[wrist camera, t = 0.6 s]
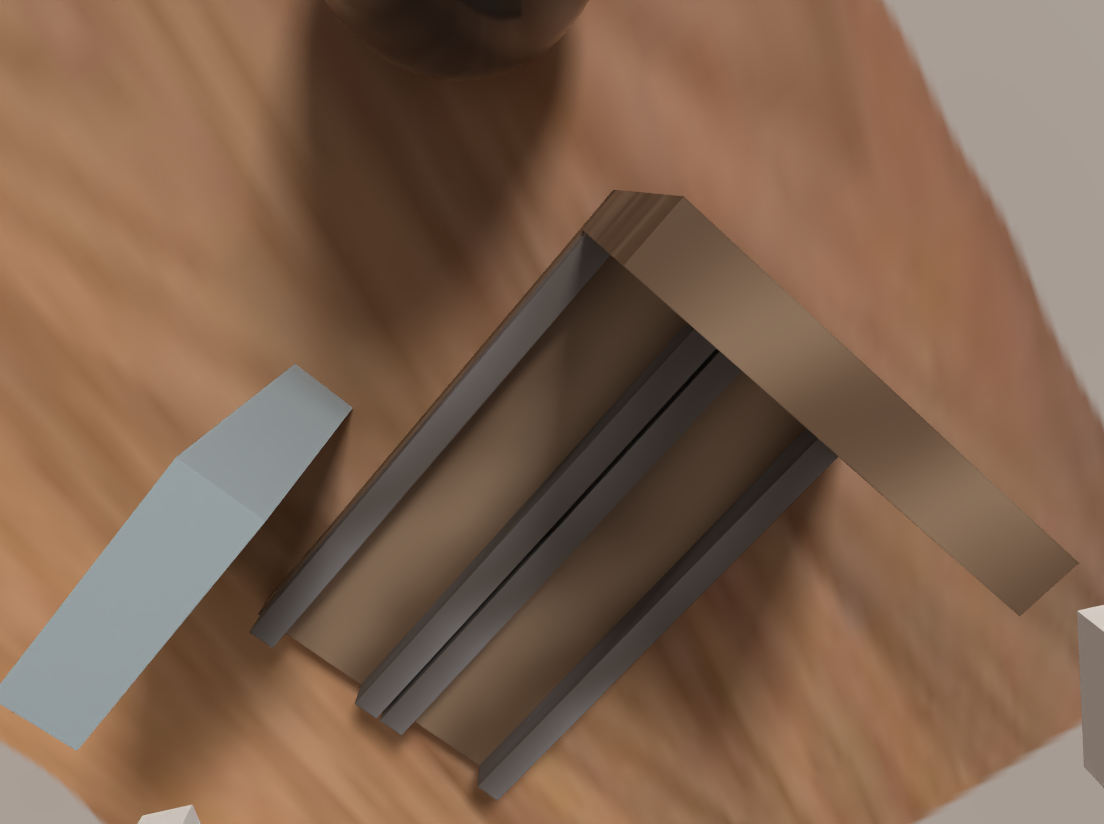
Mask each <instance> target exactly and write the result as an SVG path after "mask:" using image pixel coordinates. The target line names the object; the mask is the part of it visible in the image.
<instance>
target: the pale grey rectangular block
mask: <svg viewBox="0 0 1104 824" xmlns="http://www.w3.org/2000/svg"><path fill="white" fill-rule="evenodd" d="M351 410H352V407H351V406H350V405H348V404H347V403H346V402H345V401H343V400H342V399H341V398H339V397H338V396H337V395H335V394H334V393H333V392H331V391H330V390H329V389H328V388H326V387H325V386H324V385H322V384H321V383H320V382H318V381H317V380H316V379H315V378H313V377H312V376H311V375H309V374H308V373H307V372H305V371H304V370H303V369H302V368H300V367H299V366H298V365H296V364H294V365H293V366H292V367H290V368H289V369H288V370H287V371H285V372H284V373H283V374H281V375H280V376H279V377H278V378H276V379H275V380H274V381H273V382H271V383H270V384H269V385H267V386H266V387H265V388H264V389H262V390H261V391H260V392H259V393H257V394H256V395H255V396H253V397H252V398H251V399H250V400H248V401H247V402H246V403H245V404H243V405H242V406H241V407H239V408H238V409H237V410H236V411H234V412H233V413H232V414H231V415H229V416H228V417H227V418H225V419H224V420H223V421H222V422H220V423H219V424H218V425H217V426H215V427H214V428H213V429H211V430H210V431H209V432H208V433H206V434H205V435H204V436H203V437H201V438H200V439H199V440H197V441H196V442H195V443H194V444H192V445H191V446H190V447H189V448H187V449H186V450H185V451H183V452H182V453H181V454H180V455H178V456H177V457H176V458H175V459H174V461H173V462H172V463H171V464H170V466H169V467H168V468H167V470H166V471H165V472H164V473H163V475H162V476H161V477H160V479H159V480H158V481H157V483H156V484H155V485H154V486H153V488H152V489H151V490H150V492H149V493H148V494H147V495H146V497H145V498H144V499H143V501H142V502H141V503H140V504H139V506H138V507H137V508H136V510H135V511H134V512H133V513H132V515H131V516H130V517H129V519H128V520H127V521H126V523H125V524H124V525H123V526H122V528H121V529H120V530H119V532H118V533H117V534H116V535H115V537H114V538H113V539H112V541H111V542H110V543H109V544H108V546H107V547H106V548H105V550H104V551H103V552H102V553H101V555H100V556H99V557H98V559H97V560H96V561H95V562H94V564H93V565H92V566H91V568H90V569H89V570H88V572H87V573H86V574H85V575H84V577H83V578H82V579H81V581H80V582H79V583H78V584H77V586H76V587H75V588H74V590H73V591H72V592H71V593H70V595H69V596H68V597H67V599H66V600H65V601H64V602H63V604H62V605H61V606H60V608H59V609H58V610H57V611H56V613H55V614H54V615H53V617H52V618H51V619H50V621H49V622H48V623H47V624H46V626H45V627H44V628H43V630H42V631H41V632H40V633H39V635H38V636H37V637H36V639H35V640H34V641H33V642H32V644H31V645H30V646H29V648H28V649H27V650H26V651H25V653H24V654H23V655H22V657H21V658H20V659H19V661H18V662H17V663H16V664H15V666H14V667H13V668H12V670H11V671H10V672H9V673H8V675H7V676H6V677H5V679H4V680H3V681H2V682H1V684H0V704H1V705H3V706H4V707H6V708H7V709H9V710H11V711H12V712H14V713H16V714H17V715H19V716H21V717H22V718H24V719H25V720H27V721H29V722H30V723H32V724H34V725H35V726H37V727H39V728H40V729H42V730H44V731H45V732H47V733H48V734H50V735H52V736H53V737H55V738H57V739H58V740H60V741H62V742H63V743H65V744H66V745H68V746H70V747H71V748H73V749H75V750H76V751H77V750H78V749H79V748H80V747H81V745H82V744H83V743H84V742H85V741H86V739H87V738H88V737H89V736H90V734H91V733H92V732H93V731H94V730H95V728H96V727H97V726H98V725H99V723H100V722H101V721H102V720H103V719H104V717H105V716H106V715H107V714H108V713H109V711H110V710H111V709H112V708H113V706H114V705H115V704H116V703H117V702H118V700H119V699H120V698H121V697H122V695H123V694H124V693H125V692H126V691H127V689H128V688H129V687H130V686H131V685H132V683H133V682H134V681H135V680H136V678H137V677H138V676H139V675H140V674H141V672H142V671H143V670H144V669H145V667H146V666H147V665H148V664H149V663H150V661H151V660H152V659H153V658H154V657H155V655H156V654H157V653H158V652H159V650H160V649H161V648H162V647H163V646H164V644H165V643H166V642H167V641H168V639H169V638H170V637H171V636H172V635H173V633H174V632H175V631H176V630H177V629H178V627H179V626H180V625H181V624H182V622H183V621H184V620H185V619H186V618H187V616H188V615H189V614H190V613H191V611H192V610H193V609H194V608H195V607H196V605H197V604H198V603H199V602H200V601H201V599H202V598H203V597H204V596H205V594H206V593H207V592H208V591H209V590H210V588H211V587H212V586H213V585H214V584H215V582H216V581H217V580H218V579H219V577H220V576H221V575H222V574H223V573H224V571H225V570H226V569H227V568H228V566H229V565H230V564H231V563H232V562H233V560H234V559H235V558H236V557H237V556H238V554H239V553H240V552H241V551H242V549H243V548H244V547H245V546H246V545H247V543H248V542H249V541H250V540H251V538H252V537H253V536H254V535H255V534H256V532H257V531H258V530H259V529H260V528H261V526H262V525H263V524H264V523H265V521H266V520H267V519H268V518H269V516H270V515H271V514H272V512H273V511H274V510H275V508H276V507H277V506H278V505H279V503H280V502H281V501H282V499H283V498H284V497H285V495H286V494H287V493H288V492H289V490H290V489H291V488H292V486H293V485H294V484H295V482H296V481H297V480H298V479H299V477H300V476H301V475H302V473H303V472H304V471H305V469H306V468H307V467H308V466H309V464H310V463H311V462H312V460H313V459H314V458H315V456H316V455H317V454H318V453H319V451H320V450H321V449H322V447H323V446H324V445H325V443H326V442H327V441H328V440H329V438H330V437H331V436H332V434H333V433H334V432H335V430H336V429H337V428H338V427H339V425H340V424H341V423H342V421H343V420H344V419H345V417H346V416H347V415H348V414H349V412H350V411H351Z"/></svg>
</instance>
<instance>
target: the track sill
mask: <svg viewBox="0 0 1104 824" xmlns="http://www.w3.org/2000/svg"><path fill="white" fill-rule="evenodd" d="M837 457H840V458H841V459H842V460H843V461H844V462H845V463H846V464H847V465H849V466H850V467H851V468H852V469H853V470H854V471H855V472H857V473H858V474H859V475H860V476H861V477H862V478H863V479H864V480H866V481H867V482H868V483H869V484H870V485H871V486H872V487H874V488H875V489H876V490H877V491H878V492H879V493H880V494H881V495H883V496H884V497H885V498H886V499H887V500H888V501H889V502H891V503H892V504H893V505H894V506H895V507H896V508H897V509H898V510H900V511H901V512H902V513H903V514H904V515H905V516H906V517H908V518H909V519H910V520H911V521H912V522H913V523H914V524H915V525H917V526H918V527H919V528H920V529H921V530H922V531H923V532H925V533H926V534H927V535H928V536H929V537H930V538H931V539H933V540H934V541H935V542H936V543H937V544H938V545H939V546H940V547H942V548H943V549H944V550H945V551H946V552H947V553H948V554H950V555H951V556H952V557H953V558H954V559H955V560H956V561H957V562H959V563H960V564H961V565H962V566H963V567H964V568H965V569H967V570H968V571H969V572H970V573H971V574H972V575H973V576H974V577H976V578H977V579H978V580H979V581H980V582H981V583H982V584H984V585H985V586H986V587H987V588H988V589H989V590H990V591H991V592H993V593H994V594H995V595H996V596H997V597H998V598H999V599H1001V600H1002V601H1003V602H1004V603H1005V604H1006V605H1007V606H1008V607H1010V608H1011V609H1012V610H1013V611H1014V612H1015V613H1016V614H1018V615H1019V616H1021V615H1022V614H1023V613H1024V612H1025V611H1026V610H1027V609H1029V608H1030V607H1031V606H1032V605H1033V604H1034V603H1035V602H1036V601H1037V600H1039V599H1040V598H1041V597H1042V596H1043V595H1044V594H1045V593H1046V592H1047V591H1048V590H1050V589H1051V588H1052V587H1053V586H1054V585H1055V584H1056V583H1057V582H1058V581H1060V580H1061V579H1062V578H1063V577H1064V576H1065V575H1066V574H1067V573H1068V572H1070V571H1071V570H1072V569H1073V568H1074V567H1075V566H1076V565H1077V564H1078V562H1077V561H1076V560H1075V559H1074V558H1073V557H1072V556H1071V555H1070V554H1069V553H1068V552H1067V551H1065V550H1064V549H1063V548H1062V547H1061V546H1060V545H1059V544H1058V543H1057V542H1056V541H1055V540H1054V539H1053V538H1051V537H1050V536H1049V535H1048V534H1047V533H1046V532H1045V531H1044V530H1043V529H1042V528H1041V527H1040V526H1038V525H1037V524H1036V523H1035V522H1034V521H1033V520H1032V519H1031V518H1030V517H1029V516H1028V515H1027V514H1026V513H1024V512H1023V511H1022V510H1021V509H1020V508H1019V507H1018V506H1017V505H1016V504H1015V503H1014V502H1013V501H1012V500H1010V499H1009V498H1008V497H1007V496H1006V495H1005V494H1004V493H1003V492H1002V491H1001V490H1000V489H999V488H998V487H996V486H995V485H994V484H993V483H992V482H991V481H990V480H989V479H988V478H987V477H986V476H985V475H983V474H982V473H981V472H980V471H979V470H978V469H977V468H976V467H975V466H974V465H973V464H972V463H971V462H969V461H968V460H967V459H966V458H965V457H964V456H963V455H962V454H961V453H960V452H959V451H958V450H957V449H955V448H954V447H953V446H952V445H951V444H950V443H949V442H948V441H947V440H946V439H945V438H944V437H943V436H941V435H940V434H939V433H938V432H937V431H936V430H935V429H934V428H933V427H932V426H931V425H930V424H928V423H927V422H926V421H925V420H924V419H923V418H922V417H921V416H920V415H919V414H918V413H917V412H916V411H914V410H913V409H912V408H911V407H910V406H909V405H908V404H907V403H906V402H905V401H904V400H903V399H902V398H900V397H899V396H898V395H897V394H896V393H895V392H894V391H893V390H892V389H891V388H890V387H889V386H887V385H886V384H885V383H884V382H883V381H882V380H881V379H880V378H879V377H878V376H877V375H876V374H875V373H873V372H872V371H871V370H870V369H869V368H868V367H867V366H866V365H865V364H864V363H863V362H862V361H861V360H859V359H858V358H857V357H856V356H855V355H854V354H853V353H852V352H851V351H850V350H849V349H848V348H847V347H845V346H844V345H843V344H842V343H841V342H840V341H839V340H838V339H837V338H836V337H835V336H834V335H832V334H831V333H830V332H829V331H828V330H827V329H826V328H825V327H824V326H823V325H822V324H821V323H820V322H818V321H817V320H816V319H815V318H814V317H813V316H812V315H811V314H810V313H809V312H808V311H807V310H806V309H804V308H803V307H802V306H801V305H800V304H799V303H798V302H797V301H796V300H795V299H794V298H793V297H791V296H790V295H789V294H788V293H787V292H786V291H785V290H784V289H783V288H782V287H781V286H780V285H779V284H777V283H776V282H775V281H774V280H773V279H772V278H771V277H770V276H769V275H768V274H767V273H766V272H765V271H763V270H762V269H761V268H760V267H759V266H758V265H757V264H756V263H755V262H754V261H753V260H752V259H751V258H749V257H748V256H747V255H746V254H745V253H744V252H743V251H742V250H741V249H740V248H739V247H738V246H736V245H735V244H734V243H733V242H732V241H731V240H730V239H729V238H728V237H727V236H726V235H725V234H724V233H722V232H721V231H720V230H719V229H718V228H717V227H716V226H715V225H714V224H713V223H712V222H711V221H710V220H708V219H707V218H706V217H705V216H704V215H703V214H702V213H701V212H700V211H699V210H698V209H697V208H696V207H694V206H693V205H692V204H691V203H690V202H689V201H688V200H687V199H686V198H685V197H684V196H673V195H663V194H652V193H641V192H631V191H620V190H613V191H612V192H611V194H610V195H609V196H608V197H607V198H606V199H605V201H604V202H603V203H602V204H601V205H600V207H599V208H598V209H597V210H596V211H595V213H594V214H593V215H592V216H591V217H590V218H589V220H588V221H587V222H586V223H585V224H584V226H583V227H582V228H581V229H580V230H579V231H578V233H577V234H576V235H575V236H574V237H573V239H572V240H571V241H570V242H569V243H568V245H567V246H566V247H565V248H564V249H563V250H562V252H561V253H560V254H559V255H558V256H557V258H556V259H555V260H554V261H553V262H552V263H551V265H550V266H549V267H548V268H547V269H546V271H545V272H544V273H543V274H542V275H541V276H540V278H539V279H538V280H537V281H536V282H535V284H534V285H533V286H532V287H531V288H530V290H529V291H528V292H527V293H526V294H525V295H524V297H523V298H522V299H521V300H520V301H519V303H518V304H517V305H516V306H515V307H514V308H513V310H512V311H511V312H510V313H509V314H508V316H507V317H506V318H505V319H504V320H503V321H502V323H501V324H500V325H499V326H498V327H497V329H496V330H495V331H494V332H493V333H492V335H491V336H490V337H489V338H488V339H487V340H486V342H485V343H484V344H483V345H482V346H481V348H480V349H479V350H478V351H477V352H476V353H475V355H474V356H473V357H472V358H471V359H470V361H469V362H468V363H467V364H466V365H465V367H464V368H463V369H462V370H461V371H460V372H459V374H458V375H457V376H456V377H455V378H454V380H453V381H452V382H451V383H450V384H449V385H448V387H447V388H446V389H445V390H444V391H443V393H442V394H441V395H440V396H439V397H438V398H437V400H436V401H435V402H434V403H433V404H432V406H431V407H430V408H429V409H428V410H427V412H426V413H425V414H424V415H423V416H422V417H421V419H420V420H419V421H418V422H417V423H416V425H415V426H414V427H413V428H412V429H411V430H410V432H409V433H408V434H407V435H406V436H405V438H404V439H403V440H402V441H401V442H400V444H399V445H398V446H397V447H396V448H395V449H394V451H393V452H392V453H391V454H390V455H389V457H388V458H387V459H386V460H385V461H384V462H383V464H382V465H381V466H380V467H379V468H378V470H377V471H376V472H375V473H374V474H373V475H372V477H371V478H370V479H369V480H368V481H367V483H366V484H365V485H364V486H363V487H362V489H361V490H360V491H359V492H358V493H357V494H356V496H355V497H354V498H353V499H352V500H351V502H350V503H349V504H348V505H347V506H346V507H345V509H344V510H343V511H342V512H341V513H340V515H339V516H338V517H337V518H336V519H335V520H334V522H333V523H332V524H331V525H330V526H329V528H328V529H327V530H326V531H325V532H324V534H323V535H322V536H321V537H320V538H319V539H318V541H317V542H316V543H315V544H314V545H313V547H312V548H311V549H310V550H309V551H308V552H307V554H306V555H305V556H304V557H303V558H302V560H301V561H300V562H299V563H298V564H297V566H296V567H295V568H294V569H293V570H292V571H291V573H290V574H289V575H288V576H287V577H286V579H285V580H284V581H283V582H282V583H281V584H280V586H279V587H278V588H277V589H276V590H275V592H274V593H273V594H272V595H271V596H270V597H269V599H268V600H267V601H266V602H265V604H264V605H263V607H262V608H261V610H260V612H259V613H258V615H260V616H259V618H258V619H257V621H256V622H255V624H254V626H253V627H252V629H251V631H250V633H251V634H253V635H254V636H255V637H257V638H258V639H260V640H261V641H263V642H264V643H266V644H267V645H269V646H270V647H272V648H273V647H274V646H275V645H276V643H277V642H278V641H279V640H280V639H281V638H282V636H283V635H284V634H285V633H286V634H288V635H289V636H290V637H292V638H293V639H295V640H296V641H298V642H299V643H301V644H302V645H304V646H305V647H307V648H308V649H309V650H311V651H312V652H314V653H315V654H317V655H318V656H320V657H321V658H323V659H324V660H326V661H327V662H328V663H330V664H331V665H333V666H334V667H336V668H337V669H339V670H340V671H342V672H343V673H345V674H346V675H348V676H349V677H350V678H352V679H353V680H355V681H356V682H358V683H359V684H361V686H360V689H359V692H358V695H357V698H356V702H355V704H356V705H357V706H359V707H360V708H362V709H363V710H365V711H366V712H368V713H369V714H371V715H372V716H374V717H375V718H377V717H378V716H379V715H380V714H381V713H382V716H381V719H380V721H381V722H383V723H384V724H386V725H387V726H388V727H390V728H391V729H393V730H394V731H396V732H397V733H399V734H400V735H402V734H403V733H404V732H405V731H406V730H407V729H408V728H409V727H410V726H411V725H412V723H413V722H414V721H415V722H416V723H418V724H419V725H421V726H422V727H424V728H425V729H426V730H428V731H429V732H431V733H432V734H434V735H435V736H437V737H438V738H440V739H441V740H443V741H444V742H446V743H447V744H448V745H450V746H451V747H453V748H454V749H456V750H457V751H459V752H460V753H462V754H463V755H465V756H466V757H467V758H469V759H470V760H472V761H473V762H475V763H476V764H478V765H479V775H478V787H479V788H480V789H482V790H483V791H485V792H486V793H488V794H489V795H490V796H492V797H493V798H495V799H496V800H499V799H500V798H501V797H502V795H503V794H504V793H505V792H506V791H507V790H508V789H509V788H510V787H511V786H512V785H513V784H514V783H515V782H516V781H517V780H518V779H519V778H520V777H521V776H522V775H523V774H524V773H525V772H526V771H527V770H528V769H529V768H530V767H531V766H532V765H533V764H534V763H535V762H536V761H537V760H538V759H539V758H540V757H541V756H542V755H543V754H544V753H545V752H546V751H547V750H548V749H549V748H550V747H551V746H552V745H553V744H554V743H555V742H556V741H557V740H558V739H559V738H560V737H561V736H562V735H563V734H564V733H565V732H566V731H567V730H568V729H569V728H570V727H571V726H572V725H573V724H574V723H575V722H576V721H577V720H578V719H579V718H580V717H581V716H582V715H583V714H584V713H585V712H586V711H587V710H588V709H589V708H590V707H591V706H592V705H593V704H594V703H595V702H596V701H597V700H598V699H599V698H600V697H601V696H602V695H603V694H604V692H605V691H606V690H607V689H608V688H609V687H610V686H611V685H612V684H613V683H614V682H615V681H616V680H617V679H618V678H619V677H620V676H621V675H622V674H623V673H624V672H625V671H626V670H627V669H628V668H629V667H630V666H631V665H632V664H633V663H634V662H635V661H636V660H637V659H638V658H639V657H640V656H641V655H642V654H643V653H644V652H645V651H646V650H647V649H648V648H649V647H650V646H651V645H652V644H653V643H654V642H655V641H656V640H657V639H658V638H659V637H660V636H661V635H662V634H663V633H664V632H665V631H666V630H667V629H668V628H669V627H670V626H671V625H672V624H673V623H674V622H675V621H676V620H677V619H678V618H679V617H680V616H681V615H682V614H683V613H684V612H685V611H686V610H687V609H688V608H689V607H690V606H691V605H692V604H693V603H694V602H695V601H696V600H697V599H698V598H699V597H700V596H701V595H702V594H703V593H704V592H705V591H706V589H707V588H708V587H709V586H710V585H711V584H712V583H713V582H714V581H715V580H716V579H717V578H718V577H719V576H720V575H721V574H722V573H723V572H724V571H725V570H726V569H727V568H728V567H729V566H730V565H731V564H732V563H733V562H734V561H735V560H736V559H737V558H738V557H739V556H740V555H741V554H742V553H743V552H744V551H745V550H746V549H747V548H748V547H749V546H750V545H751V544H752V543H753V542H754V541H755V540H756V539H757V538H758V537H759V536H760V535H761V534H762V533H763V532H764V531H765V530H766V529H767V528H768V527H769V526H770V525H771V524H772V523H773V522H774V521H775V520H776V519H777V518H778V517H779V516H780V515H781V514H782V513H783V512H784V511H785V510H786V509H787V508H788V507H789V506H790V505H791V504H792V503H793V502H794V501H795V500H796V499H797V498H798V497H799V496H800V495H801V494H802V493H803V492H804V491H805V490H806V489H807V488H808V487H809V485H810V484H811V483H812V482H813V481H814V480H815V479H816V478H817V477H818V476H819V475H820V474H821V473H822V472H823V471H824V470H825V469H826V468H827V467H828V466H829V465H830V464H831V463H832V462H833V461H834V460H835V459H836V458H837Z"/></svg>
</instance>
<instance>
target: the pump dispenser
mask: <svg viewBox="0 0 1104 824" xmlns="http://www.w3.org/2000/svg"><path fill="white" fill-rule="evenodd" d="M323 1H324V2H325V3H326V5H327V6H328V8H329V9H330V10H331V11H332V13H333V14H334V15H335V16H336V18H337V19H338V20H339V21H340V22H341V23H342V24H343V25H344V26H345V27H346V28H347V29H348V31H349V32H351V33H352V34H353V35H354V36H355V37H356V38H357V39H358V40H359V41H361V42H362V43H363V44H364V45H365V46H367V47H368V48H369V49H371V50H372V51H373V52H375V53H376V54H378V55H379V56H381V57H382V58H384V59H386V60H387V61H389V62H391V63H393V64H395V65H397V66H399V67H401V68H403V69H406V70H408V71H411V72H414V73H417V74H420V75H423V76H427V77H432V78H437V79H443V80H455V81H466V80H478V79H485V78H490V77H494V76H498V75H501V74H504V73H507V72H510V71H513V70H515V69H517V68H519V67H521V66H523V65H525V64H527V63H529V62H531V61H532V60H534V59H536V58H537V57H539V56H540V55H542V54H543V53H544V52H546V51H547V50H548V49H549V48H551V47H552V46H553V45H554V44H555V43H556V42H557V41H558V40H559V39H560V38H561V37H562V36H563V35H564V34H565V33H566V32H567V31H568V30H569V29H570V27H571V26H572V25H573V24H574V22H575V21H576V20H577V18H578V17H579V16H580V14H581V13H582V11H583V9H584V8H585V6H586V4H587V3H588V1H589V0H323Z"/></svg>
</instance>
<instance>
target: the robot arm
mask: <svg viewBox="0 0 1104 824" xmlns="http://www.w3.org/2000/svg"><path fill="white" fill-rule="evenodd" d="M1077 617H1078V639H1079V662H1080V685H1081V708H1082V729H1083V753H1084V767H1085V768H1086V769H1087V770H1088V772H1089V773H1091V775H1093V777H1094V778H1095V779H1096V780H1097V781H1098V782H1099V783H1100V784H1101V785H1102V786H1103V787H1104V605H1102V606H1097V607H1093V608H1088V609H1083V610H1079V611H1077ZM138 824H201V823H200V821H199V819H198V816H197V814H196V812H195V809H194V807H193V805H188V806H184V807H179V808H174V809H170V810H165V811H161V812H156V813H152V814H147V815H142V817H141V819H140V820H139V822H138Z"/></svg>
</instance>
